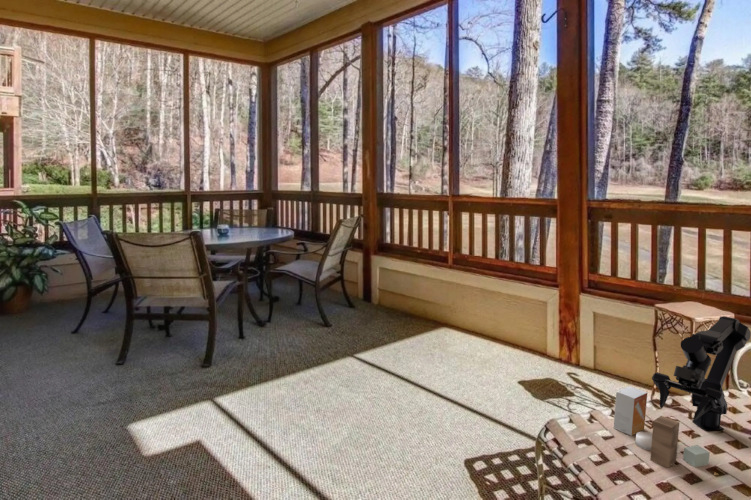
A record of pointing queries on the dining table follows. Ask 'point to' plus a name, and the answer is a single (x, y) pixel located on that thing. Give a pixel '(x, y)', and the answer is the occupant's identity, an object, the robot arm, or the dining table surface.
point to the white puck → (644, 440)
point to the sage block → (696, 456)
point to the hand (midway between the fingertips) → (677, 413)
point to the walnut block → (664, 441)
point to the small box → (630, 410)
